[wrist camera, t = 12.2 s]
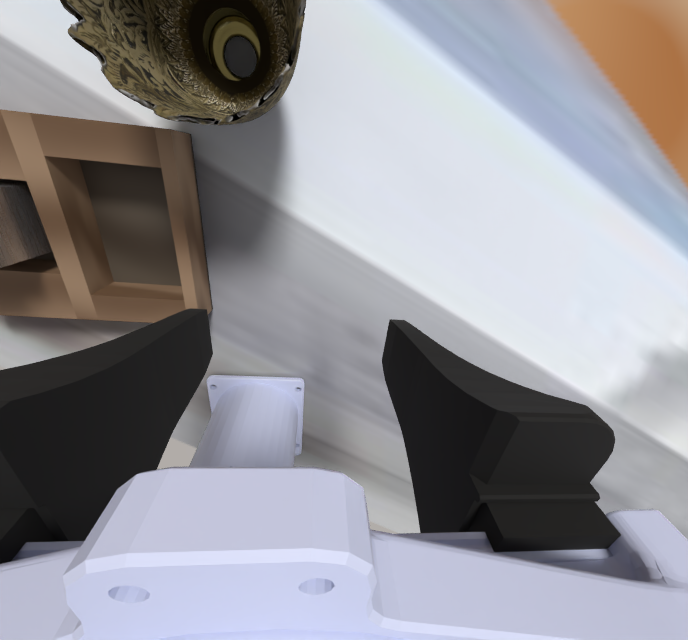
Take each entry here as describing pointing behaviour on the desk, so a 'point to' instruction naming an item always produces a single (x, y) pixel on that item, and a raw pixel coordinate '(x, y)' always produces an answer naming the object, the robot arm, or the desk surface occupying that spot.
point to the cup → (192, 53)
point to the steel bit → (19, 224)
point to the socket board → (105, 220)
